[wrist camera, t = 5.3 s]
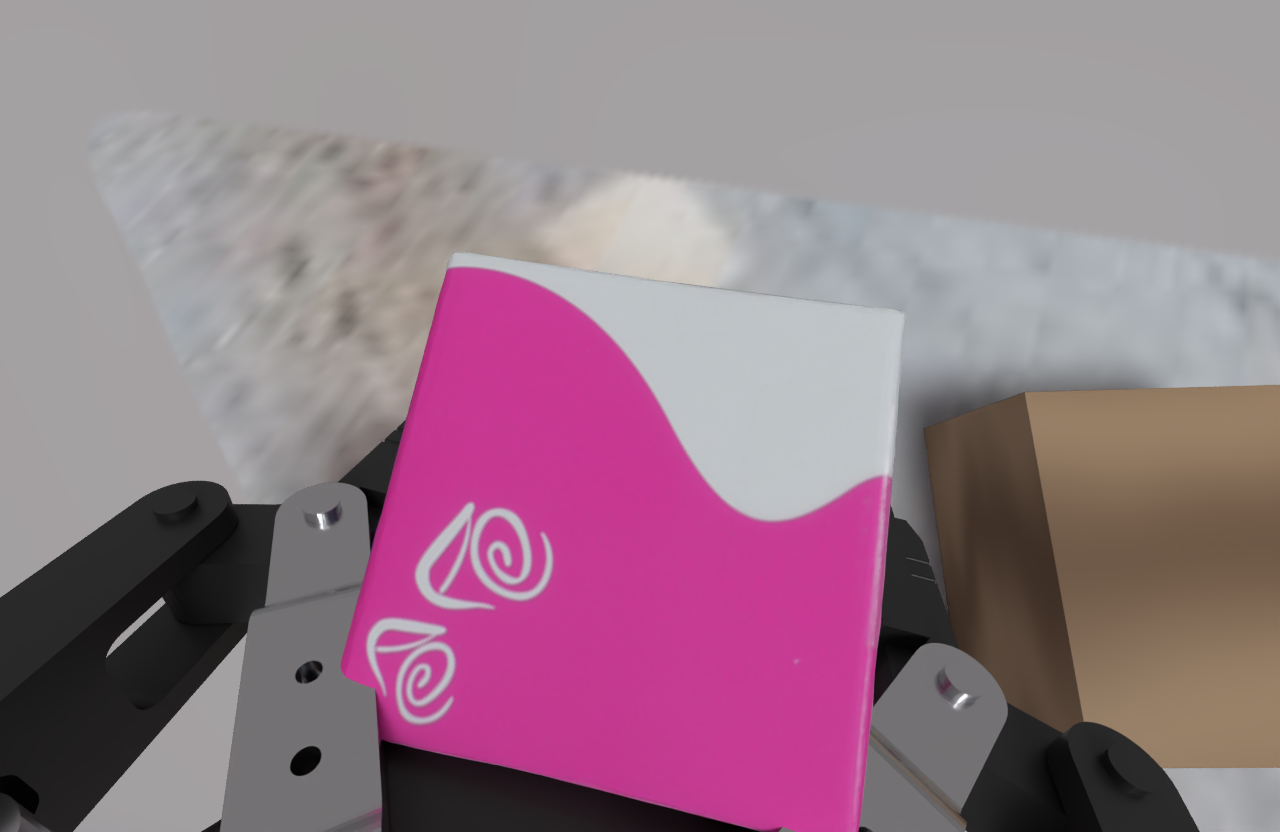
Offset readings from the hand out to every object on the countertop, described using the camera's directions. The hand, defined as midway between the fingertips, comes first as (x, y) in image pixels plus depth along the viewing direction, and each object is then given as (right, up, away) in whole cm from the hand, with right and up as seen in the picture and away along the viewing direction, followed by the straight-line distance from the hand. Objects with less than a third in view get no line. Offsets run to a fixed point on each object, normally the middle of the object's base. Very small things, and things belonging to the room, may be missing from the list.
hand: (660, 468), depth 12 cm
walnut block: (+13, -3, +4) cm, 14 cm away
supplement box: (0, -2, +5) cm, 6 cm away
